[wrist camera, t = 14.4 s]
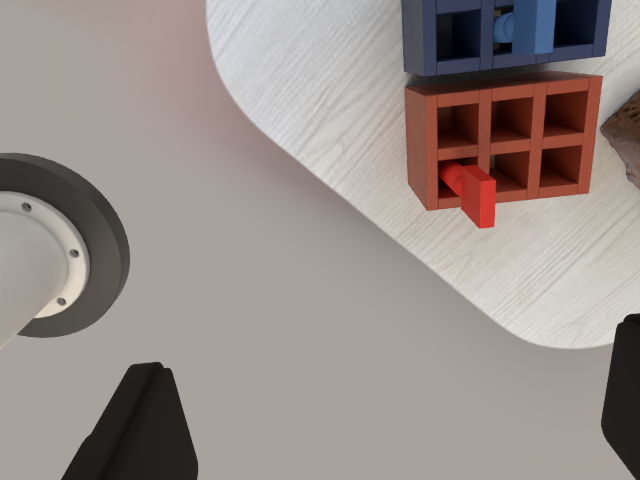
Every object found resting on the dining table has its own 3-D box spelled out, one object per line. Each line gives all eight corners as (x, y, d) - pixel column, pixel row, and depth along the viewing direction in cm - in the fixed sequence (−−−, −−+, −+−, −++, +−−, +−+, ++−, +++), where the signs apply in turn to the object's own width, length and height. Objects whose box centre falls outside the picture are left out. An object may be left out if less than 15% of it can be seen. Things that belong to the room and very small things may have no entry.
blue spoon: (470, 54, 38) (526, 55, 26) (470, 12, 37) (530, -9, 25) (492, 52, 38) (560, 51, 26) (493, 9, 37) (565, -14, 25)
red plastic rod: (425, 176, 42) (472, 229, 30) (424, 141, 41) (473, 182, 29) (445, 173, 42) (500, 226, 30) (445, 138, 41) (503, 178, 29)
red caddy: (407, 183, 44) (427, 210, 36) (404, 87, 40) (424, 96, 33) (542, 169, 43) (588, 193, 36) (550, 70, 40) (603, 75, 33)
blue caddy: (403, 71, 40) (424, 77, 32) (399, -46, 36) (421, -69, 29) (551, 54, 39) (605, 56, 32) (561, -66, 36) (623, -94, 29)
